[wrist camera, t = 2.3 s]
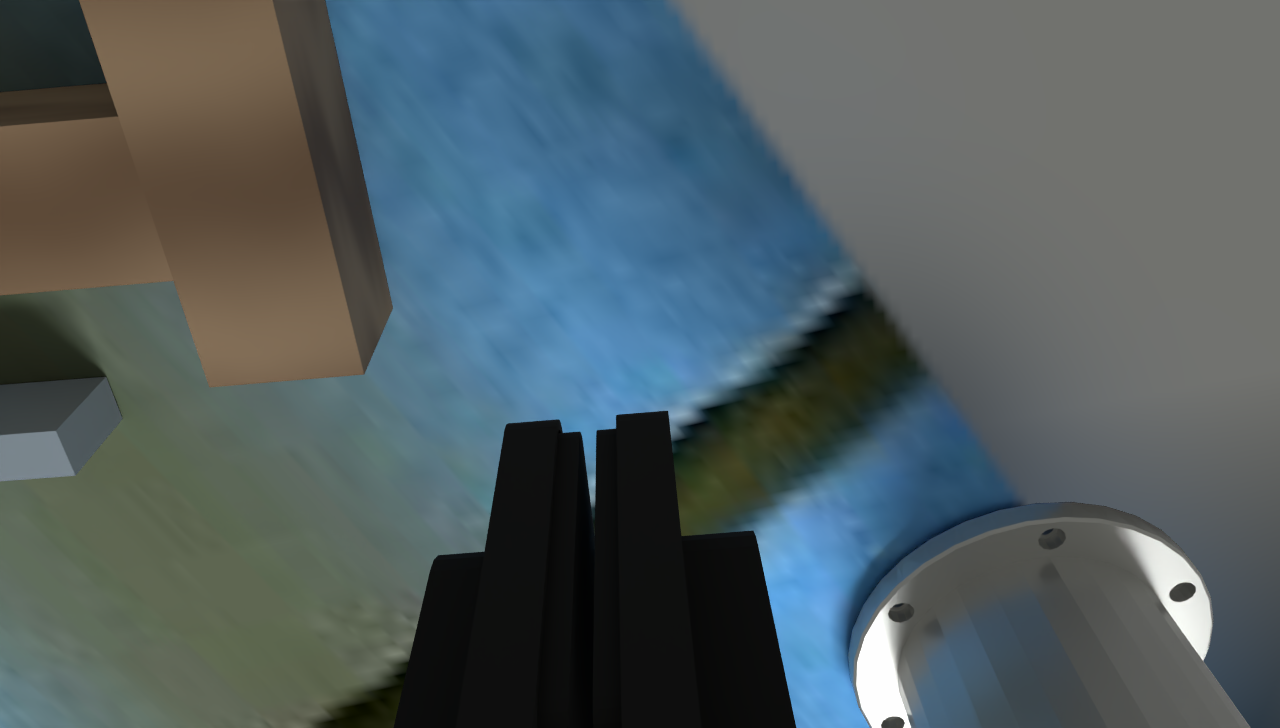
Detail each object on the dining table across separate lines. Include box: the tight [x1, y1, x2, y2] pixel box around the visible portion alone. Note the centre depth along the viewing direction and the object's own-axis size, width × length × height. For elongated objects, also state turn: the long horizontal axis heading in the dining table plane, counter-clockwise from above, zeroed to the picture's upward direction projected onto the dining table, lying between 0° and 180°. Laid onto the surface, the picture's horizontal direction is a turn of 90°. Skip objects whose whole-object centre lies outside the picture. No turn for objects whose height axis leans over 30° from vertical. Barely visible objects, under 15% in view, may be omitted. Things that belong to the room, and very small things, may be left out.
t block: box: [0, 0, 393, 387], centre depth 24 cm, size 10×10×4 cm
